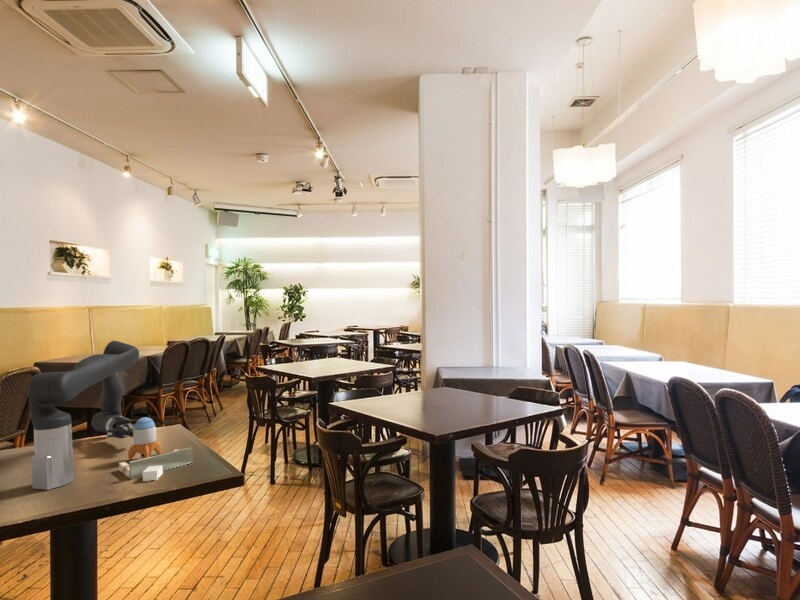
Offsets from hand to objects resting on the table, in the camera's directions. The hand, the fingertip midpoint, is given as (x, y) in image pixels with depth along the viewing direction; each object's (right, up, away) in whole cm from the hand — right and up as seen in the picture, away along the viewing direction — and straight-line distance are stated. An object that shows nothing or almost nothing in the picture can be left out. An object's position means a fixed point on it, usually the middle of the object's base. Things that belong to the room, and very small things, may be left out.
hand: (133, 433), depth 172 cm
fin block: (+20, -6, -26) cm, 34 cm away
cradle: (+16, -6, -16) cm, 24 cm away
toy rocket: (+7, -7, -6) cm, 12 cm away
